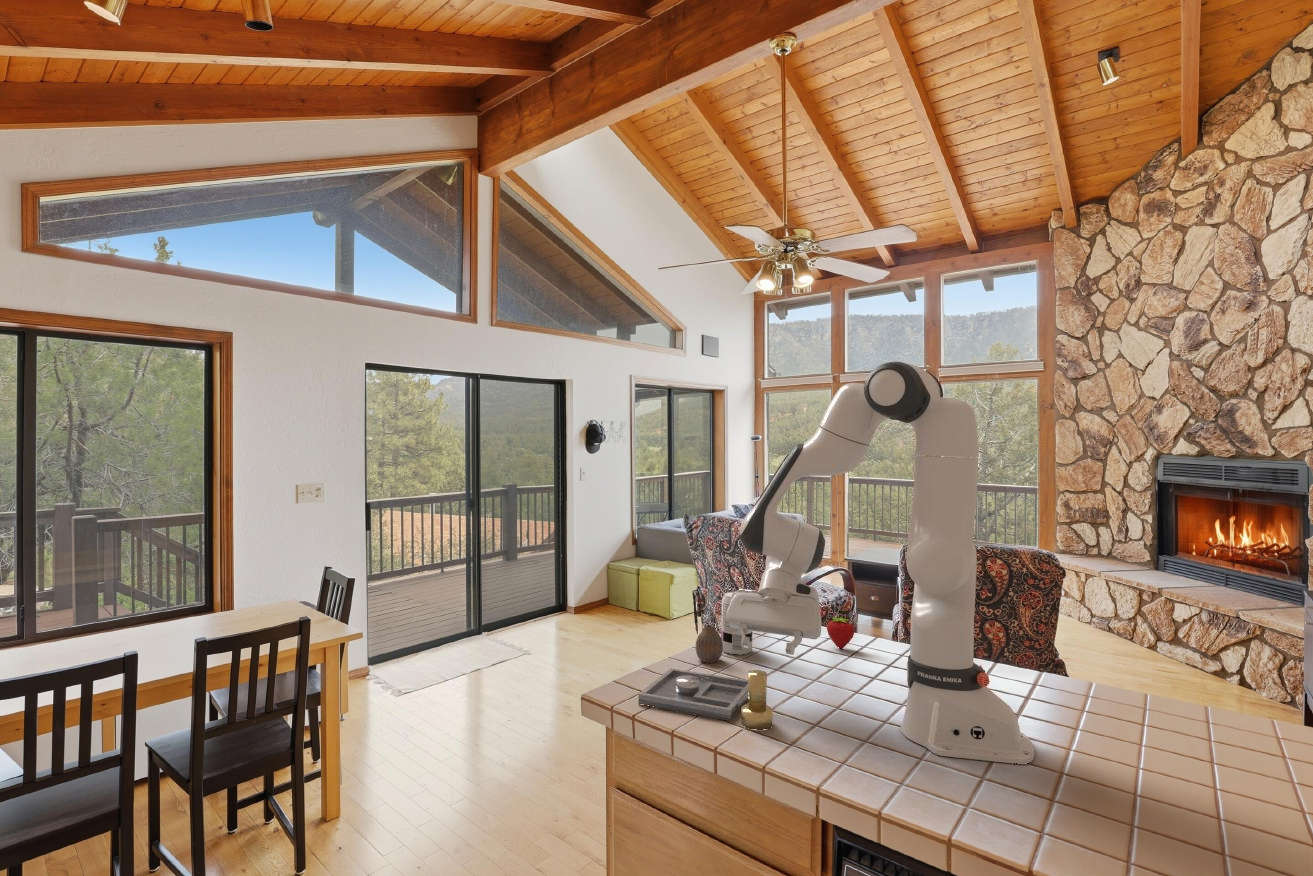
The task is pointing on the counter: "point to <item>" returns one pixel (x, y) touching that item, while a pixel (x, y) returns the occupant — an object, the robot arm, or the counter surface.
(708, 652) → the vase
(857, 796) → the counter surface
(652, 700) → the tray
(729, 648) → the supplement can
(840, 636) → the strawberry
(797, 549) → the robot arm
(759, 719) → the gold peg with base
